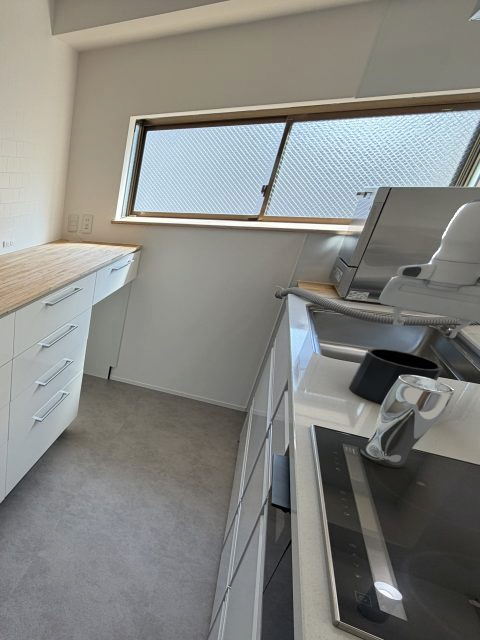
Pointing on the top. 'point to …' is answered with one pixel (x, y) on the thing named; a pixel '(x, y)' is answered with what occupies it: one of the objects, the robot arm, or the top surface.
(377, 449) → the beer glass
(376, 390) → the pot
